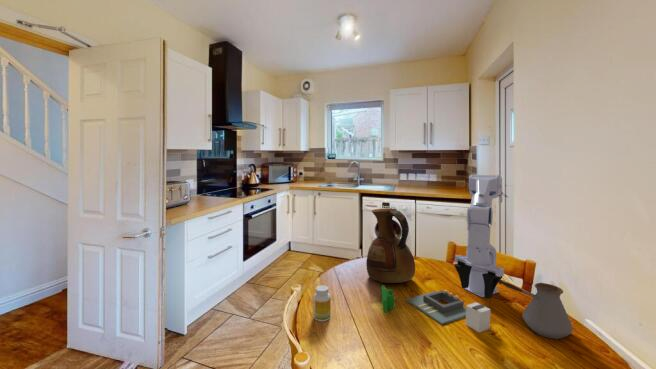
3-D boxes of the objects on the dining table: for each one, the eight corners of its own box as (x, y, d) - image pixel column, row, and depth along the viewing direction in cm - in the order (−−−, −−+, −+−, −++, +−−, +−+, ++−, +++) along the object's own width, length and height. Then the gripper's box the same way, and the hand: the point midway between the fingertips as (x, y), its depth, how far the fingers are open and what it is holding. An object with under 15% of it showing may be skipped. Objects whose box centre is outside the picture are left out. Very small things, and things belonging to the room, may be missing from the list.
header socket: (435, 292, 103) (435, 283, 103) (473, 314, 89) (474, 303, 89) (406, 300, 98) (406, 290, 97) (441, 324, 83) (442, 313, 83)
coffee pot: (554, 320, 85) (557, 273, 84) (583, 345, 74) (587, 291, 73) (480, 315, 88) (482, 270, 87) (497, 338, 77) (500, 286, 75)
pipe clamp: (395, 314, 89) (395, 301, 89) (383, 314, 90) (383, 300, 89) (391, 297, 100) (392, 285, 100) (381, 296, 101) (381, 284, 100)
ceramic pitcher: (382, 266, 130) (383, 203, 127) (423, 279, 116) (425, 208, 113) (356, 279, 115) (356, 208, 113) (399, 295, 102) (401, 214, 99)
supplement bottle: (311, 315, 89) (310, 286, 88) (326, 311, 91) (325, 282, 90) (317, 323, 84) (317, 293, 83) (333, 319, 86) (333, 289, 85)
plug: (475, 320, 85) (476, 301, 85) (489, 328, 81) (490, 308, 81) (465, 324, 83) (466, 304, 83) (479, 332, 79) (480, 312, 79)
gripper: (448, 242, 87) (446, 285, 87) (492, 254, 73) (490, 305, 74) (464, 240, 89) (462, 282, 90) (509, 252, 76) (507, 301, 77)
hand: (476, 292), depth 82 cm, fingers open, 7 cm apart
